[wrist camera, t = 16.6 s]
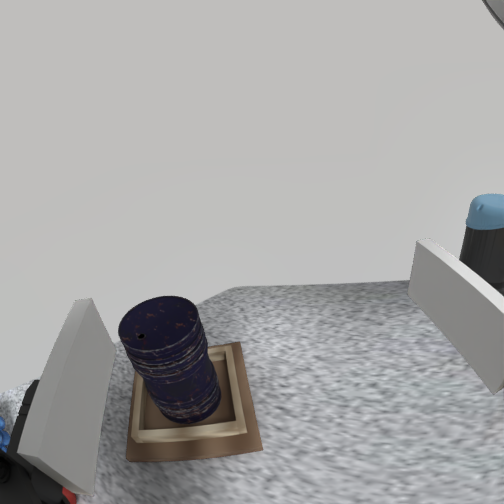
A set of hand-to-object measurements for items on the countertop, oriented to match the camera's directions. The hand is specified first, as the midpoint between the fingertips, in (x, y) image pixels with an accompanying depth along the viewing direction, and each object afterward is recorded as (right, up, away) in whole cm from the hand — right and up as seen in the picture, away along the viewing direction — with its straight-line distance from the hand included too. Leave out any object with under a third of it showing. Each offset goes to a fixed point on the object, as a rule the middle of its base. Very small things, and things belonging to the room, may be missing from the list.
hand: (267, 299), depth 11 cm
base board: (-10, -20, +28) cm, 36 cm away
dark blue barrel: (-10, -19, +28) cm, 35 cm away
